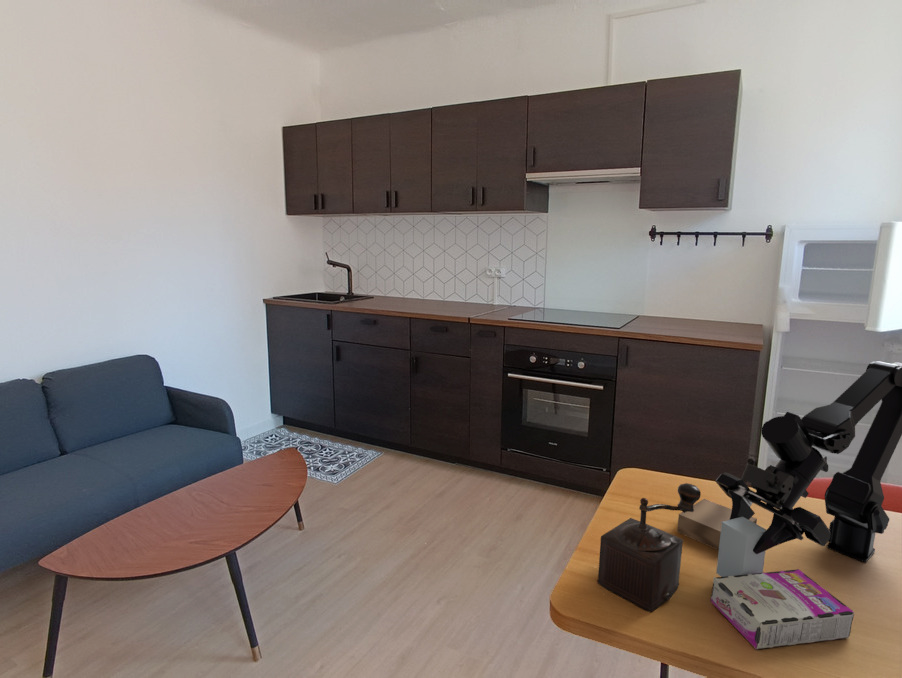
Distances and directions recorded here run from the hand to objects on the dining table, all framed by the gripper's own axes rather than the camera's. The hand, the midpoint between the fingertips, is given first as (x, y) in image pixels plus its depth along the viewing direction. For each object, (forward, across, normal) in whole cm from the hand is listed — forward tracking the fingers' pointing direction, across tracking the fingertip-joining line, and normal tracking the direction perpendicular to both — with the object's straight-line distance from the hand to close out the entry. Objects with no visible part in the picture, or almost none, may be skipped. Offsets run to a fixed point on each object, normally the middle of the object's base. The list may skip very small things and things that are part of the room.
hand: (740, 544), depth 94 cm
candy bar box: (-1, +11, +9) cm, 14 cm away
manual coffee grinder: (+16, -7, -3) cm, 17 cm away
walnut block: (-2, -14, +14) cm, 20 cm away
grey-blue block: (+4, 0, +5) cm, 7 cm away
